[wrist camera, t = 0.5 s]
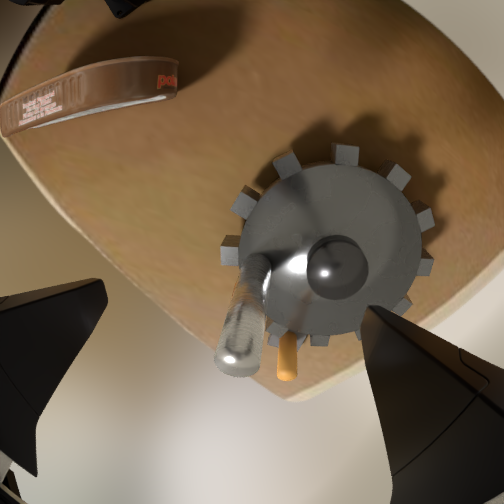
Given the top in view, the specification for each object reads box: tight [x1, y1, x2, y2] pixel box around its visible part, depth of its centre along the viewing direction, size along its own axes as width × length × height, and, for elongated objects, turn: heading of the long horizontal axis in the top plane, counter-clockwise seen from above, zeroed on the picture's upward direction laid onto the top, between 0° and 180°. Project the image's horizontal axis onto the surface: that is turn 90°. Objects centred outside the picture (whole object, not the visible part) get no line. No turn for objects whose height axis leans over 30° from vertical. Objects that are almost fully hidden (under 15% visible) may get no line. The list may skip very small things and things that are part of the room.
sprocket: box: [214, 142, 435, 377], centre depth 16 cm, size 15×15×11 cm
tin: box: [0, 56, 179, 137], centre depth 14 cm, size 15×3×8 cm, turn 89°
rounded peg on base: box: [267, 329, 307, 381], centre depth 23 cm, size 3×3×5 cm
